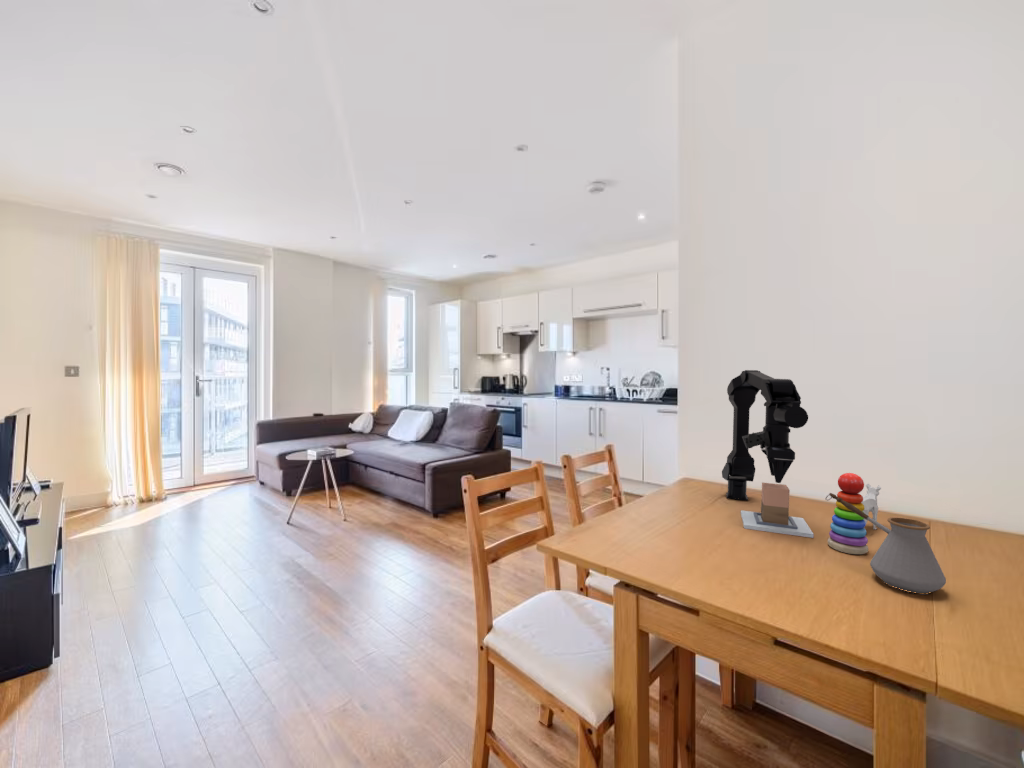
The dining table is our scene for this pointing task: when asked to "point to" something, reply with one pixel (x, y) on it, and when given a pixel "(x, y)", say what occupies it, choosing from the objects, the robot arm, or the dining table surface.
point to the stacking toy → (849, 518)
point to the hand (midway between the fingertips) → (775, 479)
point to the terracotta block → (775, 495)
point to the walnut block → (774, 514)
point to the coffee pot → (904, 554)
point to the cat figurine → (871, 502)
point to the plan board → (776, 525)
